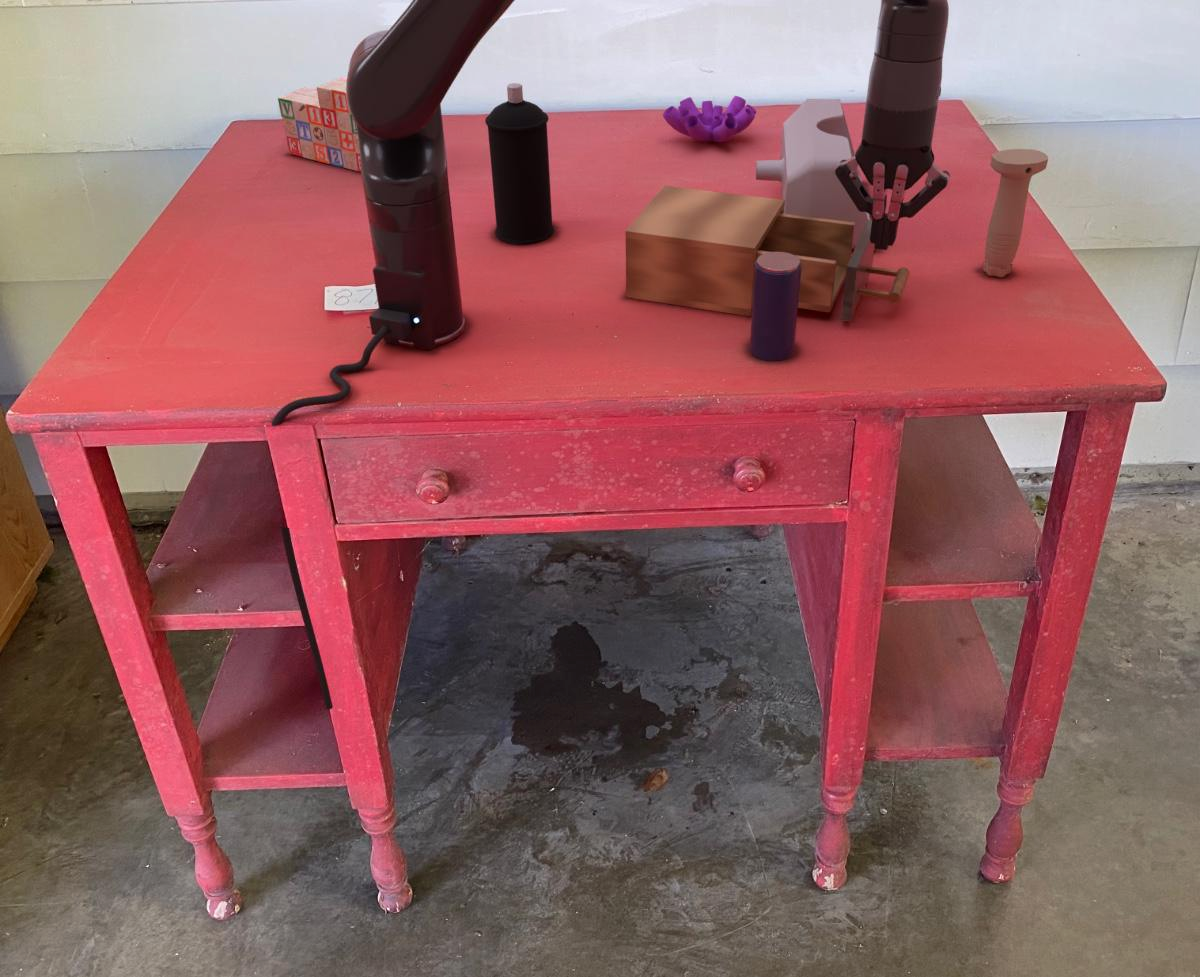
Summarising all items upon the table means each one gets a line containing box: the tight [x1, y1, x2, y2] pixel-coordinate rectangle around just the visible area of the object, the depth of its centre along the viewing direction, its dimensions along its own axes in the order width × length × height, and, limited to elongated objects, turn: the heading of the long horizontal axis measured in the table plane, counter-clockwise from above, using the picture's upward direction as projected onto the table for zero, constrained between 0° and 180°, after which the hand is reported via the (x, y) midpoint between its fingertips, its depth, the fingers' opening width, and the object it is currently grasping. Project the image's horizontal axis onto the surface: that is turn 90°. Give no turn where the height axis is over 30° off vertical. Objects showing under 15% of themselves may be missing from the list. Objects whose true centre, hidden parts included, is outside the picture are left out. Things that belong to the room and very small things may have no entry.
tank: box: [755, 98, 877, 251], centre depth 153 cm, size 25×16×12 cm, turn 174°
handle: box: [982, 148, 1049, 278], centre depth 137 cm, size 5×6×15 cm
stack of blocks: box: [277, 75, 361, 173], centre depth 175 cm, size 21×6×12 cm, turn 57°
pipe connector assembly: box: [662, 95, 757, 143], centre depth 179 cm, size 11×15×10 cm
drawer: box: [756, 213, 910, 323], centre depth 134 cm, size 20×14×7 cm
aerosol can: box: [484, 82, 555, 246], centre depth 148 cm, size 8×8×20 cm
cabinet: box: [624, 185, 785, 317], centre depth 139 cm, size 16×15×9 cm
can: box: [749, 252, 802, 362], centre depth 124 cm, size 5×5×11 cm
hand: (882, 246), depth 130 cm, fingers closed
